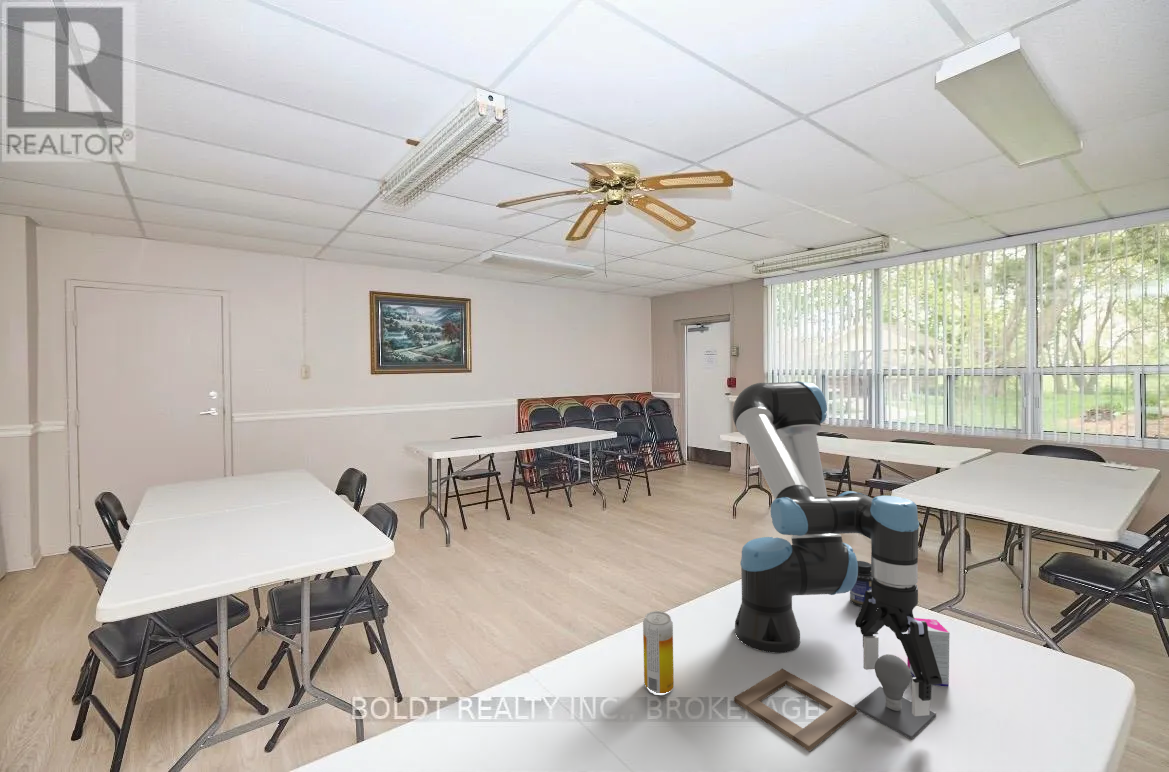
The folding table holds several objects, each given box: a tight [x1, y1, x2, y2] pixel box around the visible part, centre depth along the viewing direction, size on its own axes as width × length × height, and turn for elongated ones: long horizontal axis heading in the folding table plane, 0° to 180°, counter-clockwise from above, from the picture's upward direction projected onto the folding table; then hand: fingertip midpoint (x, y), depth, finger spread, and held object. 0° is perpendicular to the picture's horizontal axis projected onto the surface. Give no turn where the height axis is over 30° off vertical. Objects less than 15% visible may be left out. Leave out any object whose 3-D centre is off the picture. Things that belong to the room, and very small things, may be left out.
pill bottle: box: [849, 560, 873, 607], centre depth 139 cm, size 6×6×11 cm
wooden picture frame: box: [733, 668, 858, 752], centre depth 97 cm, size 16×16×1 cm
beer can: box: [642, 610, 675, 693], centre depth 104 cm, size 6×6×15 cm
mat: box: [854, 686, 937, 740], centre depth 95 cm, size 10×10×1 cm
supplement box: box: [906, 617, 951, 688], centre depth 106 cm, size 6×6×12 cm
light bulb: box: [874, 653, 912, 711], centre depth 96 cm, size 6×6×10 cm
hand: (894, 689), depth 95 cm, fingers open, 13 cm apart
